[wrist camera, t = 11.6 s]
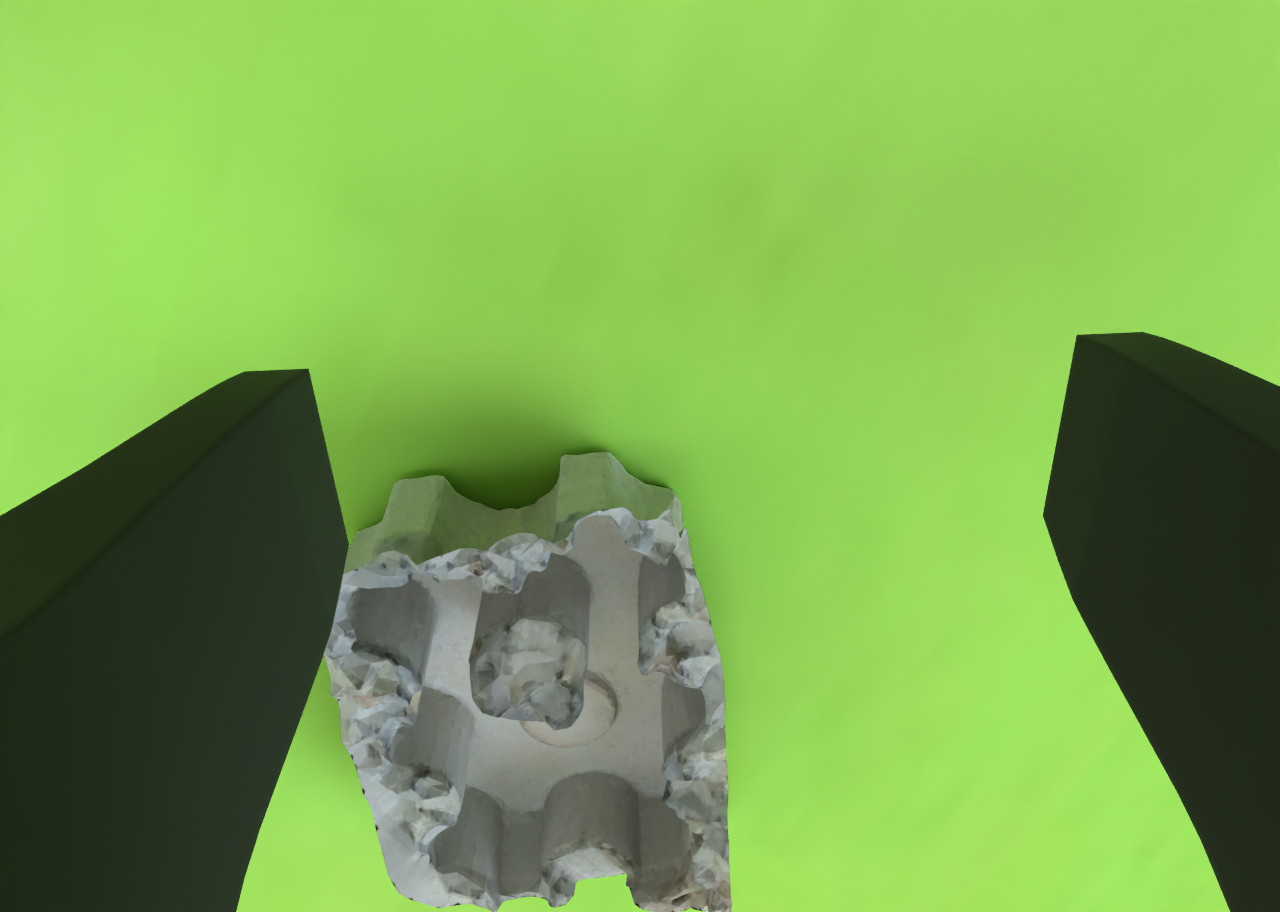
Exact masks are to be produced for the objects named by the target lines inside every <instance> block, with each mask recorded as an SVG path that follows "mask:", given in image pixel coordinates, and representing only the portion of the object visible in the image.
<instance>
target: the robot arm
mask: <svg viewBox="0 0 1280 912" xmlns="http://www.w3.org/2000/svg"><path fill="white" fill-rule="evenodd" d="M1043 517H1044V520H1045V523H1046V526H1047V529H1048V532H1049V535H1050V538H1051V541H1052V544H1053V547H1054V550H1055V553H1056V556H1057V559H1058V562H1059V564H1060V567H1061V570H1062V572H1063V575H1064V577H1065V580H1066V583H1067V585H1068V588H1069V591H1070V593H1071V596H1072V599H1073V601H1074V603H1075V605H1076V607H1077V609H1078V611H1079V613H1080V615H1081V617H1082V618H1083V620H1084V622H1085V624H1086V626H1087V628H1088V630H1089V632H1090V634H1091V635H1092V637H1093V639H1094V641H1095V643H1096V645H1097V647H1098V648H1099V650H1100V652H1101V654H1102V656H1103V658H1104V660H1105V662H1106V663H1107V665H1108V667H1109V669H1110V671H1111V673H1112V674H1113V676H1114V678H1115V680H1116V682H1117V683H1118V685H1119V687H1120V689H1121V691H1122V693H1123V694H1124V696H1125V698H1126V700H1127V702H1128V703H1129V705H1130V707H1131V709H1132V711H1133V713H1134V714H1135V716H1136V718H1137V720H1138V722H1139V723H1140V725H1141V727H1142V729H1143V731H1144V733H1145V734H1146V736H1147V738H1148V740H1149V742H1150V743H1151V745H1152V747H1153V749H1154V751H1155V753H1156V754H1157V756H1158V758H1159V760H1160V762H1161V763H1162V765H1163V767H1164V769H1165V771H1166V773H1167V774H1168V776H1169V778H1170V780H1171V782H1172V783H1173V785H1174V787H1175V789H1176V791H1177V793H1178V794H1179V796H1180V799H1181V801H1182V803H1183V805H1184V807H1185V809H1186V811H1187V813H1188V815H1189V817H1190V819H1191V821H1192V823H1193V825H1194V827H1195V829H1196V831H1197V833H1198V835H1199V837H1200V839H1201V842H1202V844H1203V846H1204V849H1205V851H1206V854H1207V856H1208V858H1209V861H1210V863H1211V866H1212V868H1213V871H1214V873H1215V875H1216V878H1217V880H1218V883H1219V885H1220V888H1221V890H1222V892H1223V895H1224V897H1225V900H1226V902H1227V905H1228V907H1229V909H1230V912H1280V387H1279V386H1277V385H1275V384H1273V383H1270V382H1268V381H1266V380H1264V379H1261V378H1259V377H1257V376H1255V375H1252V374H1250V373H1248V372H1246V371H1243V370H1241V369H1239V368H1237V367H1234V366H1232V365H1230V364H1228V363H1225V362H1223V361H1221V360H1218V359H1216V358H1214V357H1211V356H1209V355H1207V354H1204V353H1202V352H1199V351H1197V350H1194V349H1192V348H1190V347H1187V346H1184V345H1182V344H1179V343H1176V342H1174V341H1171V340H1168V339H1165V338H1162V337H1159V336H1155V335H1152V334H1148V333H1144V332H1134V333H1112V334H1089V335H1077V337H1076V342H1075V348H1074V353H1073V358H1072V363H1071V369H1070V374H1069V379H1068V385H1067V390H1066V395H1065V401H1064V406H1063V411H1062V417H1061V422H1060V427H1059V432H1058V438H1057V443H1056V448H1055V454H1054V459H1053V464H1052V470H1051V475H1050V480H1049V486H1048V491H1047V496H1046V502H1045V507H1044V512H1043ZM348 546H349V543H348V539H347V535H346V530H345V526H344V522H343V517H342V513H341V508H340V504H339V500H338V495H337V491H336V487H335V482H334V478H333V474H332V469H331V465H330V461H329V456H328V452H327V447H326V443H325V439H324V434H323V430H322V426H321V421H320V417H319V413H318V408H317V404H316V400H315V395H314V391H313V386H312V382H311V378H310V373H309V369H292V370H269V371H246V372H242V373H240V374H238V375H236V376H233V377H231V378H229V379H227V380H225V381H223V382H221V383H219V384H217V385H216V386H214V387H212V388H210V389H209V390H207V391H205V392H204V393H202V394H200V395H199V396H197V397H195V398H194V399H192V400H190V401H189V402H187V403H185V404H184V405H182V406H181V407H179V408H177V409H176V410H174V411H173V412H171V413H169V414H168V415H166V416H165V417H163V418H162V419H160V420H158V421H157V422H155V423H154V424H152V425H150V426H149V427H147V428H146V429H144V430H143V431H141V432H139V433H138V434H136V435H135V436H133V437H131V438H130V439H128V440H127V441H125V442H123V443H122V444H120V445H119V446H117V447H116V448H114V449H112V450H111V451H109V452H108V453H106V454H104V455H103V456H101V457H100V458H98V459H96V460H95V461H93V462H92V463H90V464H89V465H87V466H85V467H84V468H82V469H80V470H79V471H77V472H75V473H74V474H72V475H70V476H68V477H67V478H65V479H63V480H61V481H60V482H58V483H56V484H55V485H53V486H51V487H49V488H48V489H46V490H44V491H42V492H41V493H39V494H37V495H36V496H34V497H32V498H30V499H29V500H27V501H25V502H24V503H22V504H20V505H18V506H17V507H15V508H13V509H11V510H10V511H8V512H6V513H5V514H3V515H1V516H0V912H236V910H237V906H238V902H239V898H240V894H241V890H242V886H243V882H244V878H245V874H246V871H247V868H248V865H249V862H250V858H251V855H252V852H253V849H254V846H255V843H256V839H257V836H258V833H259V830H260V827H261V824H262V822H263V819H264V816H265V813H266V811H267V808H268V805H269V803H270V800H271V797H272V794H273V792H274V789H275V786H276V784H277V781H278V778H279V775H280V773H281V770H282V767H283V764H284V762H285V759H286V756H287V754H288V751H289V748H290V745H291V743H292V740H293V737H294V735H295V732H296V729H297V726H298V724H299V721H300V718H301V716H302V713H303V710H304V707H305V705H306V702H307V699H308V696H309V694H310V691H311V688H312V685H313V682H314V680H315V677H316V674H317V671H318V668H319V666H320V663H321V660H322V657H323V654H324V651H325V649H326V646H327V643H328V640H329V637H330V634H331V631H332V626H333V622H334V617H335V613H336V608H337V603H338V599H339V594H340V589H341V584H342V578H343V573H344V567H345V562H346V557H347V551H348Z"/></svg>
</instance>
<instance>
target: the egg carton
mask: <svg viewBox="0 0 1280 912" xmlns="http://www.w3.org/2000/svg"><path fill="white" fill-rule="evenodd" d="M560 461H561V462H560V474H559V478H558V480H557V483H556V484H555V486H554V487H553V489H552V490H551V491H550V492H549V493H548V494H546V495H544V496H543V497H541V498H539V499H538V500H537V502H536V503H535V504H532V505H528V506H525V507H522V508H519V509H513V508H507V509H503V510H500V511H498V510H495V509H492V508H490V507H487V506H485V505H483V504H481V503H478V502H473V501H471V500H469V499H468V498H466V497H464V496H462V495H460V494H459V493H457V492H455V491H454V489H453V487H452V486H451V485H450V483H449V482H448V481H447V480H446V478H445V477H444V476H438V475H433V476H426V477H420V478H414V479H405V478H404V479H402V480H400V481H396V482H394V485H393V488H392V491H391V494H390V498H389V501H388V505H387V508H386V511H385V514H384V517H383V520H382V521H381V522H380V523H378V524H376V525H374V526H371V527H368V528H365V529H361V530H358V531H357V532H356V534H355V536H354V539H353V542H352V544H351V545H350V547H349V550H348V553H347V557H346V562H345V567H344V573H343V578H342V584H341V589H340V594H339V599H338V603H337V608H336V613H335V617H334V622H333V626H332V631H331V634H330V637H329V640H328V643H327V646H326V649H325V651H324V654H323V655H324V658H325V661H326V664H327V667H328V670H329V674H330V677H331V682H330V693H331V696H332V697H334V698H336V699H338V703H339V709H340V723H341V741H342V743H343V744H344V746H345V748H346V749H347V751H348V752H349V754H350V755H351V757H352V760H353V762H354V764H355V766H356V769H357V773H358V776H359V780H360V784H361V787H362V791H363V794H364V796H365V798H366V800H367V801H368V803H369V805H370V807H371V809H372V814H373V818H374V823H375V827H376V831H377V834H378V838H379V842H380V846H381V850H382V853H383V857H384V861H385V865H386V869H387V872H388V876H389V878H390V879H391V881H392V883H393V884H394V886H395V888H396V890H397V891H398V893H400V894H401V895H403V896H405V897H407V898H408V899H410V900H413V901H417V902H420V903H424V904H427V905H431V906H434V907H438V908H443V907H449V906H455V905H461V904H473V905H476V906H479V907H483V908H487V909H489V910H490V911H492V912H496V911H497V910H498V909H499V907H500V905H501V904H502V902H504V901H508V900H511V899H515V898H521V897H533V896H534V897H539V898H544V899H545V900H547V901H548V903H549V905H550V906H551V907H554V908H555V907H559V906H563V905H566V904H567V903H568V902H569V900H570V899H571V898H572V897H573V895H574V891H575V884H576V882H577V881H579V880H581V879H591V878H600V877H607V876H614V875H620V874H627V881H626V886H628V887H629V888H630V891H631V894H632V897H633V900H634V903H635V905H637V906H638V907H639V908H641V909H642V910H648V911H653V912H677V911H685V910H687V909H689V908H690V907H691V908H693V909H695V910H700V911H708V912H731V907H732V902H731V896H730V866H729V841H728V824H727V807H728V779H727V762H726V742H725V699H724V680H723V671H722V663H721V658H720V654H719V651H718V647H717V643H716V640H715V636H714V632H713V629H712V625H711V621H710V618H709V614H708V610H707V607H706V603H705V599H704V595H703V592H702V588H701V585H700V583H699V581H698V579H697V577H696V574H695V570H694V567H693V562H692V556H691V549H690V543H689V538H688V533H687V530H686V529H685V528H683V520H682V506H681V503H680V500H679V498H678V497H677V495H676V494H675V493H674V491H673V490H672V489H668V488H663V487H659V486H654V485H649V484H644V483H643V482H642V481H640V480H639V479H637V478H636V477H634V476H632V475H631V474H629V473H628V472H626V470H625V469H624V467H623V465H622V464H621V463H620V462H619V461H618V460H617V459H616V458H615V457H614V456H613V455H612V454H611V453H609V452H597V453H588V454H581V455H567V454H565V455H564V456H562V457H561V459H560Z"/></svg>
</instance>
